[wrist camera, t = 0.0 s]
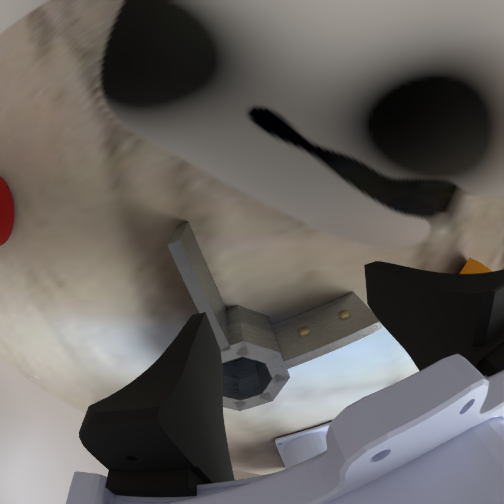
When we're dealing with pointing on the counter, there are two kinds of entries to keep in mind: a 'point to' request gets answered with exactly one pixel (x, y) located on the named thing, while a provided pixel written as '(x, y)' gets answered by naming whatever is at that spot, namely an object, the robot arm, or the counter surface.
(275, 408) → the counter surface
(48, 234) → the counter surface
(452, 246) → the counter surface
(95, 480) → the robot arm
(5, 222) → the beverage can
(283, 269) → the counter surface
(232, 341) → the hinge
